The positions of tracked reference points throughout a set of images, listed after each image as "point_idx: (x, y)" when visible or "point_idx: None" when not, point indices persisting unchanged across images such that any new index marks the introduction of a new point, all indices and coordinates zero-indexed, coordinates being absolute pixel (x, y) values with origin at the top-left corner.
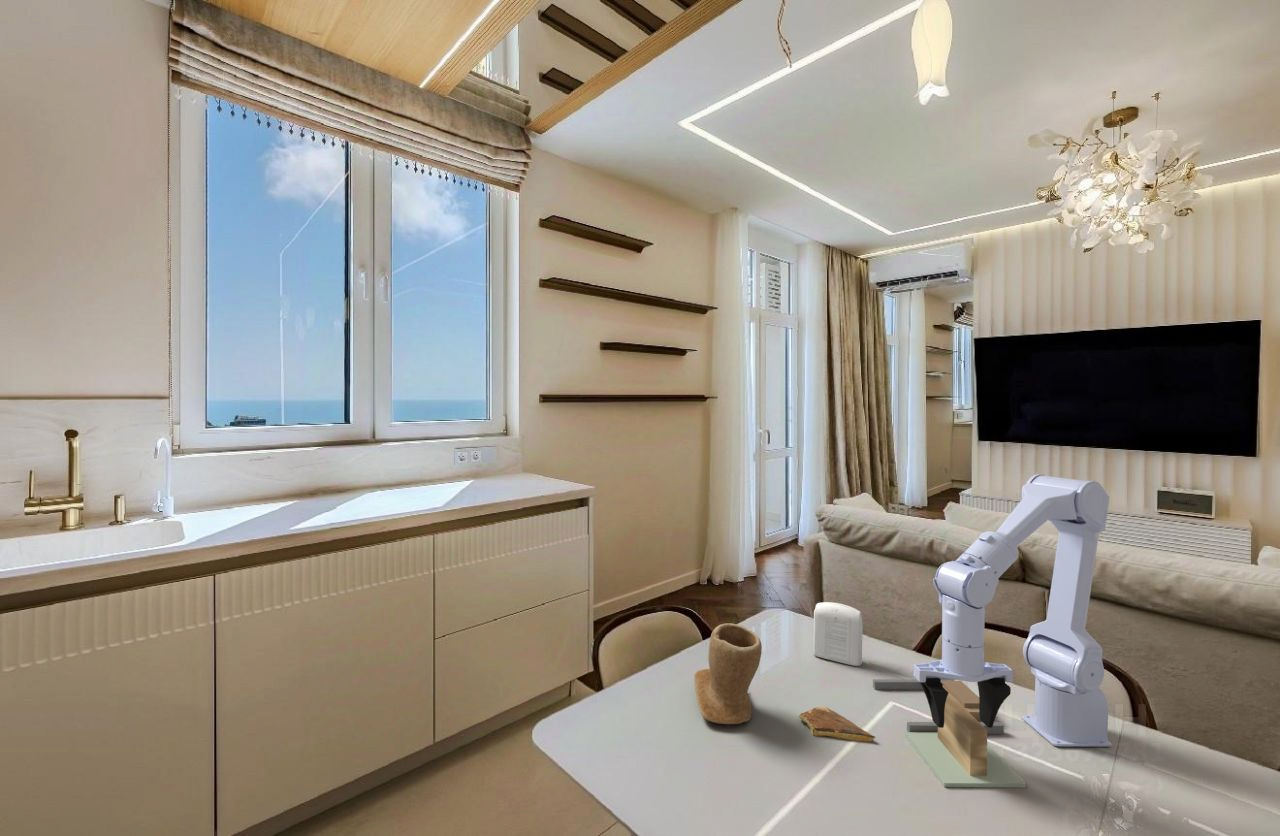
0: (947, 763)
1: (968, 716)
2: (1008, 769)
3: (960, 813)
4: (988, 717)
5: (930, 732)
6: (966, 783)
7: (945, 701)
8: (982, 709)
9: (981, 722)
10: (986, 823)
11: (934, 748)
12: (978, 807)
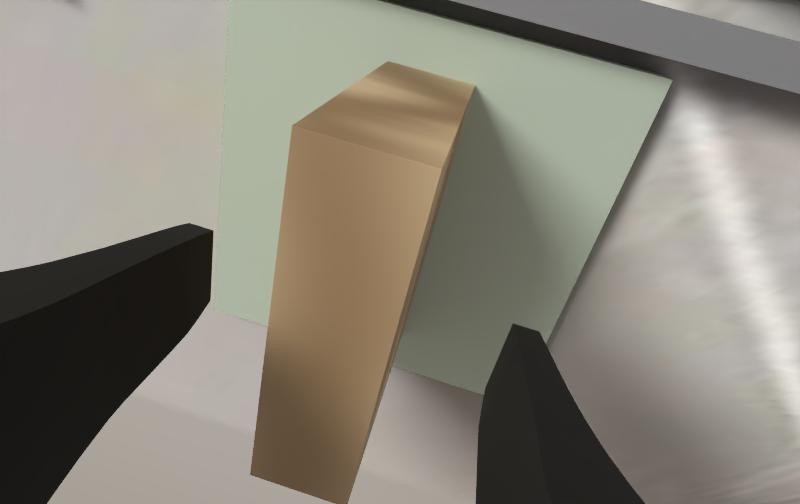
0: None
1: (339, 400)
2: None
3: (206, 385)
4: (484, 438)
5: (382, 2)
6: None
7: (57, 485)
8: (507, 401)
9: (790, 46)
10: (255, 428)
11: None
12: None
